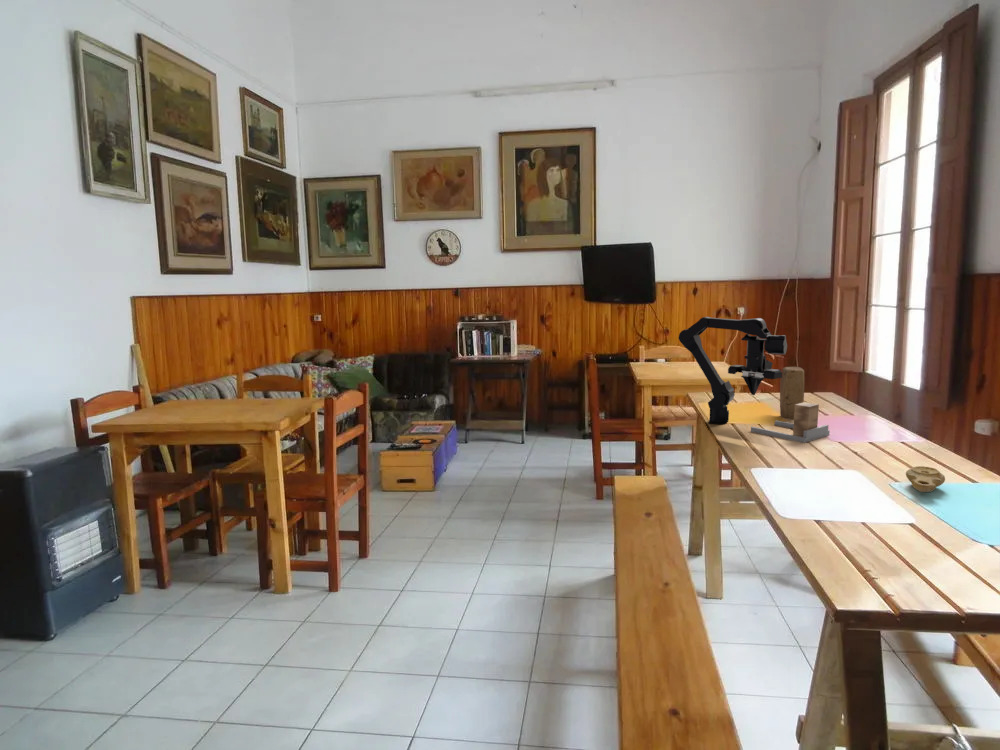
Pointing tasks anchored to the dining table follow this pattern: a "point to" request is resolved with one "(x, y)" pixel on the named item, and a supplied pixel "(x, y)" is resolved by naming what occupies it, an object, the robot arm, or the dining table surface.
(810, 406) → the slider
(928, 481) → the oil lamp
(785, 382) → the block
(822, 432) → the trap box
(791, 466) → the dining table surface
